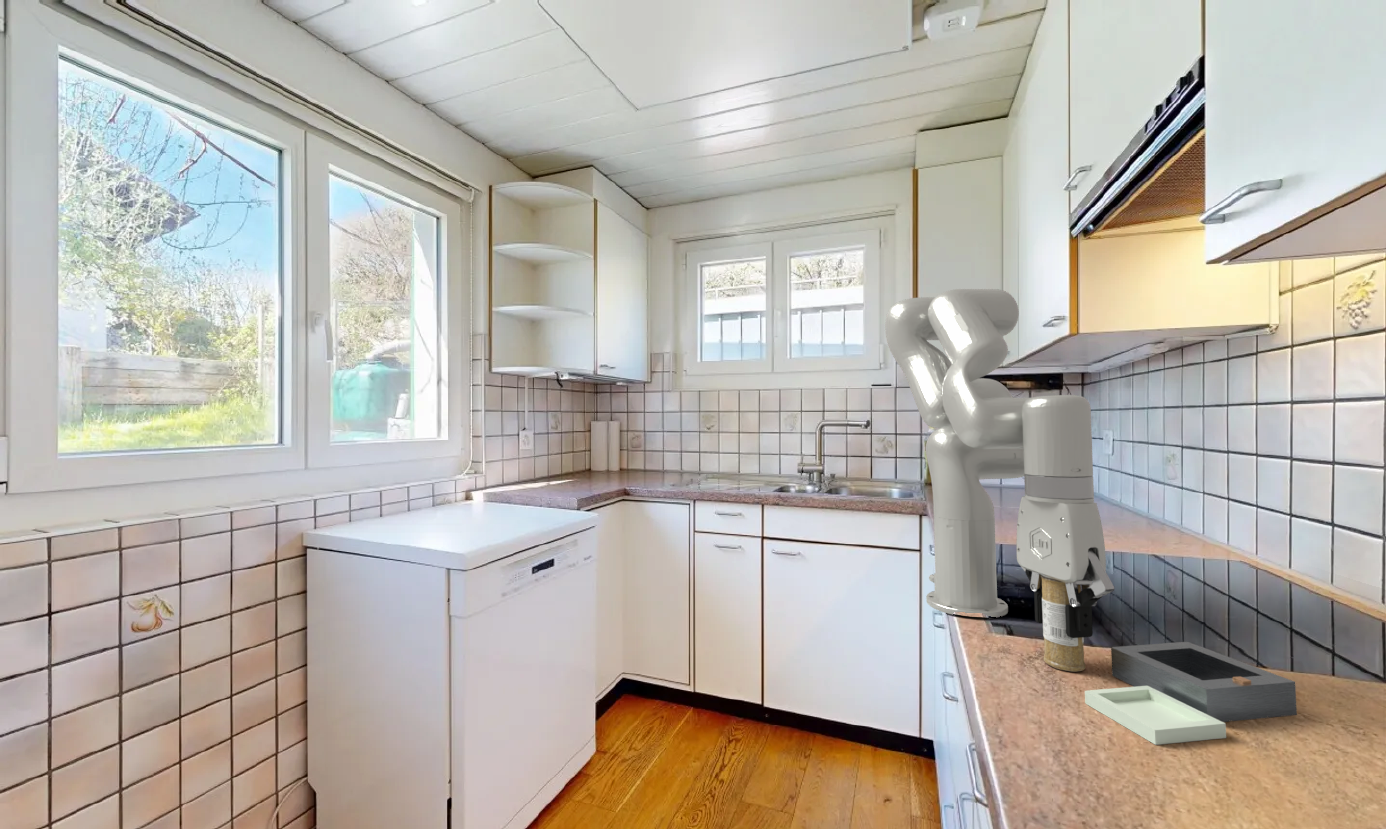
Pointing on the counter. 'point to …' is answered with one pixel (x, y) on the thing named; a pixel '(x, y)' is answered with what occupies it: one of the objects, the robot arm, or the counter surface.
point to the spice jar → (1059, 628)
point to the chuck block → (1206, 680)
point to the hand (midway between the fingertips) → (1062, 627)
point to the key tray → (1155, 715)
